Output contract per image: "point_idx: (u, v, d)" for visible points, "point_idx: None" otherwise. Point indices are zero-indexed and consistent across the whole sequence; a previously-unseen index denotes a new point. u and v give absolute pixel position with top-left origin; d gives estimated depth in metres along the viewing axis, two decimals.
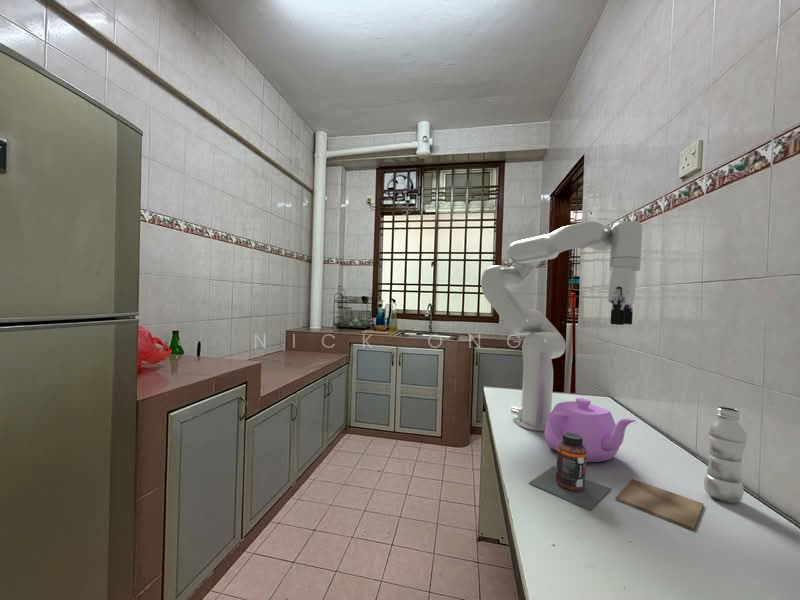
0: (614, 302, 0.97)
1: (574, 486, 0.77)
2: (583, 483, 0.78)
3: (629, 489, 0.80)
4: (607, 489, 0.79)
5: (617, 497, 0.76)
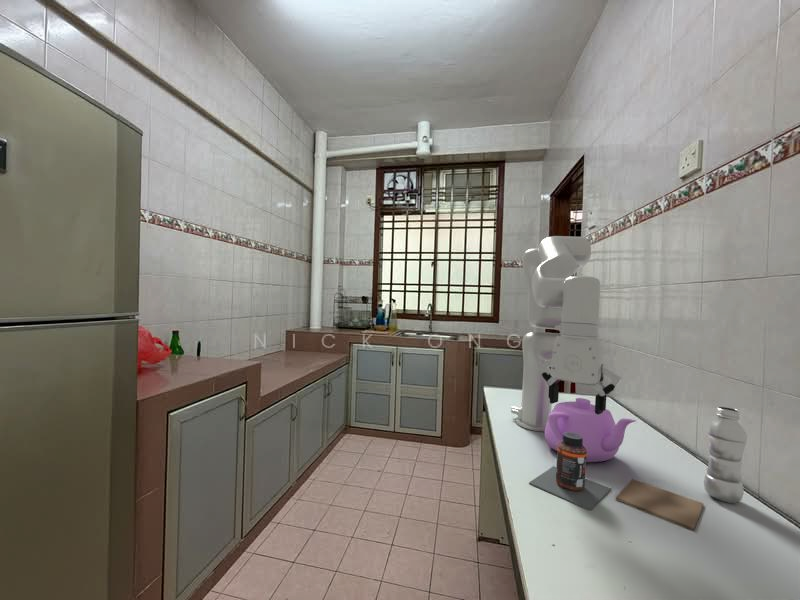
0: (614, 387, 0.74)
1: (574, 486, 0.77)
2: (583, 483, 0.78)
3: (629, 489, 0.80)
4: (607, 489, 0.79)
5: (617, 497, 0.76)
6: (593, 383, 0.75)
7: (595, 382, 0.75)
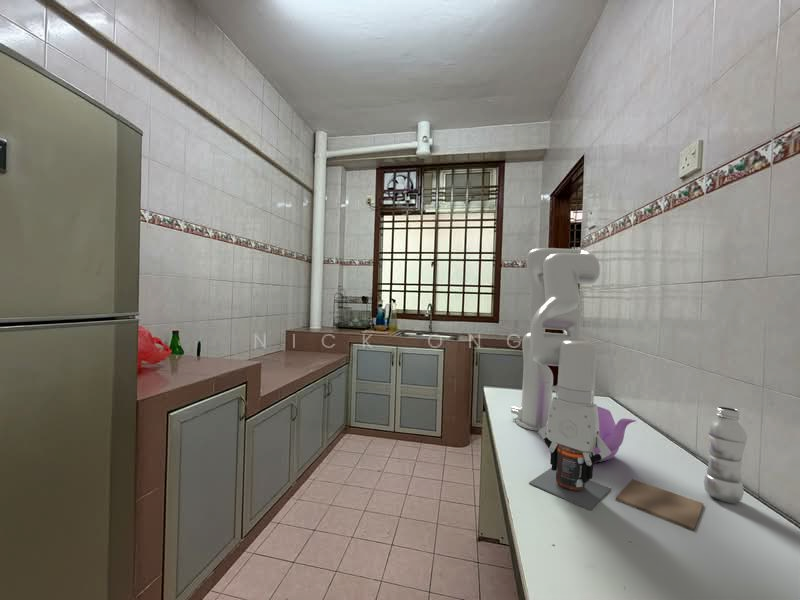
0: None
1: (574, 486, 0.77)
2: (583, 483, 0.78)
3: (629, 489, 0.80)
4: (607, 489, 0.79)
5: (617, 497, 0.76)
6: (588, 451, 0.75)
7: (590, 450, 0.75)
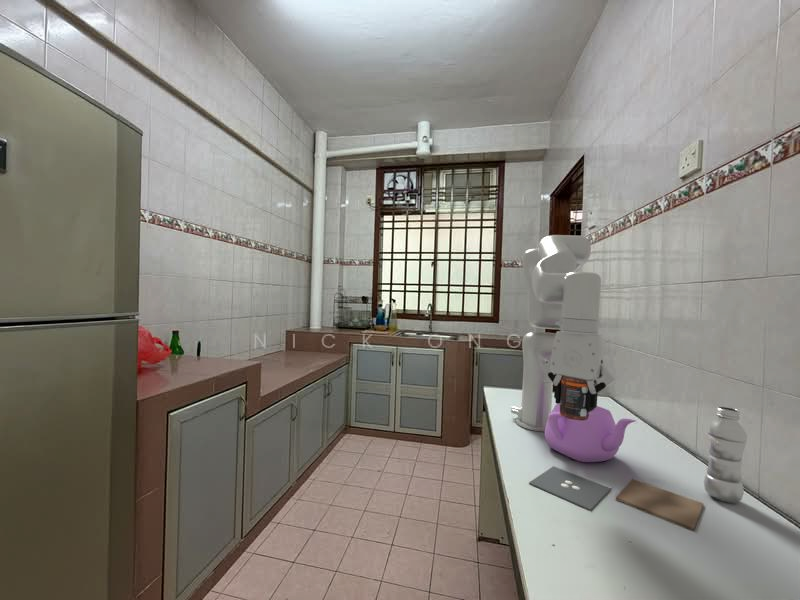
0: (605, 386, 0.76)
1: (578, 415, 0.78)
2: (587, 413, 0.78)
3: (629, 489, 0.80)
4: (607, 489, 0.79)
5: (617, 497, 0.76)
6: (592, 379, 0.75)
7: (594, 378, 0.75)
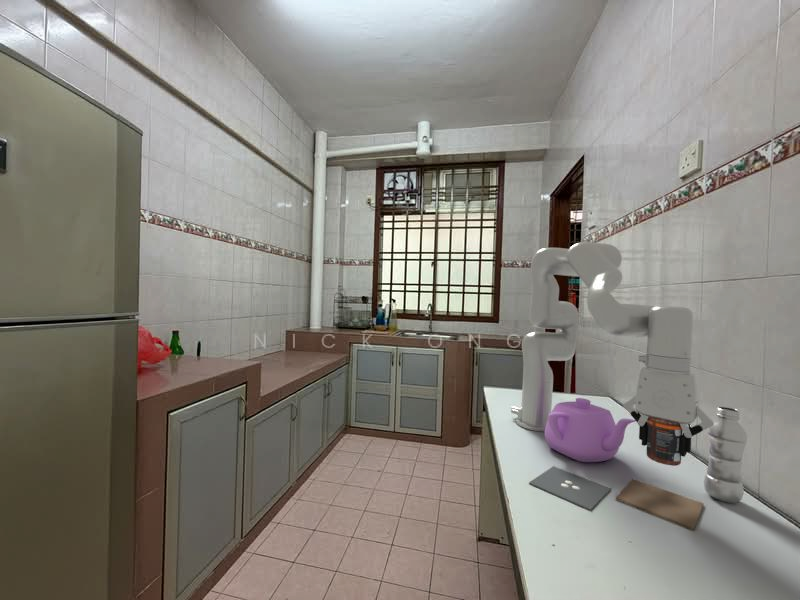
0: (702, 430, 0.71)
1: (671, 460, 0.72)
2: (680, 457, 0.73)
3: (629, 489, 0.80)
4: (607, 489, 0.79)
5: (617, 497, 0.76)
6: (689, 422, 0.71)
7: (691, 421, 0.70)
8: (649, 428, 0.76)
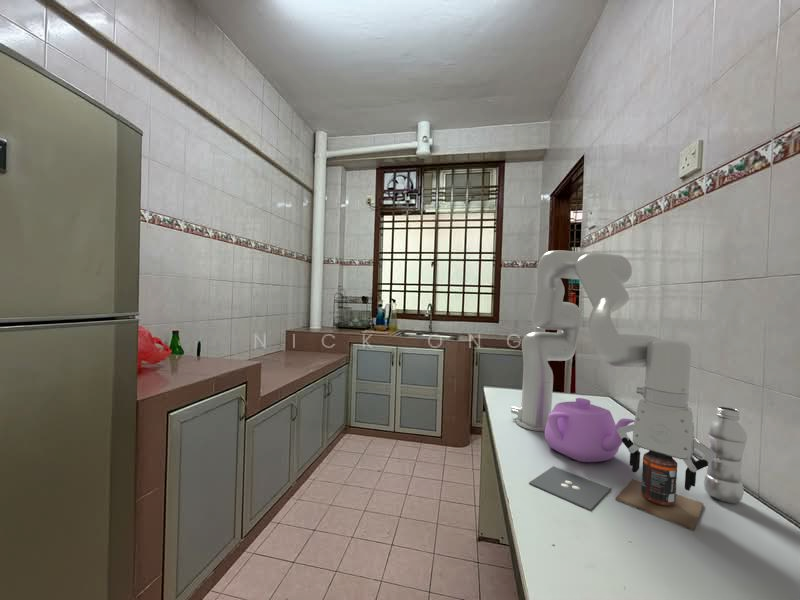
0: None
1: (666, 501, 0.73)
2: (674, 498, 0.74)
3: (629, 489, 0.80)
4: (607, 489, 0.79)
5: (617, 497, 0.76)
6: (686, 458, 0.71)
7: (688, 457, 0.71)
8: (644, 467, 0.76)
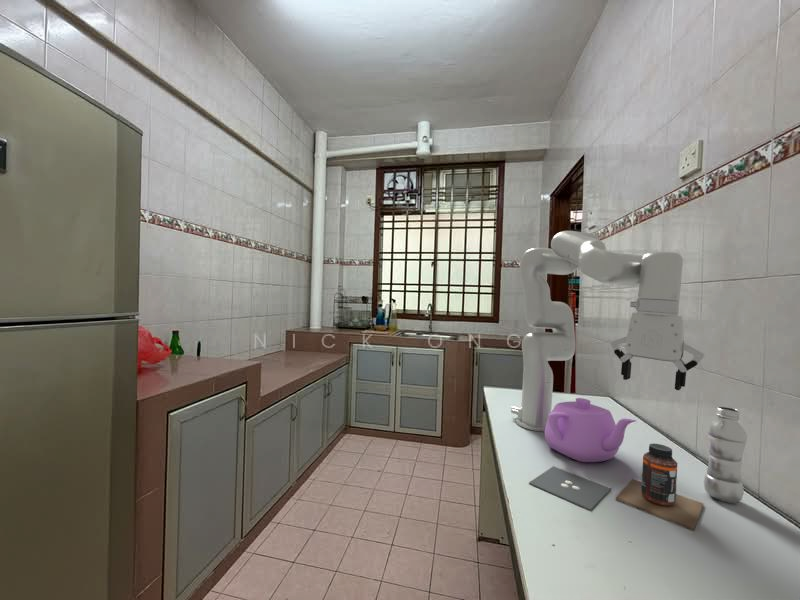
0: (697, 364, 0.74)
1: (666, 501, 0.73)
2: (674, 498, 0.74)
3: (629, 489, 0.80)
4: (607, 489, 0.79)
5: (617, 497, 0.76)
6: (675, 359, 0.75)
7: (677, 358, 0.75)
8: (644, 467, 0.76)
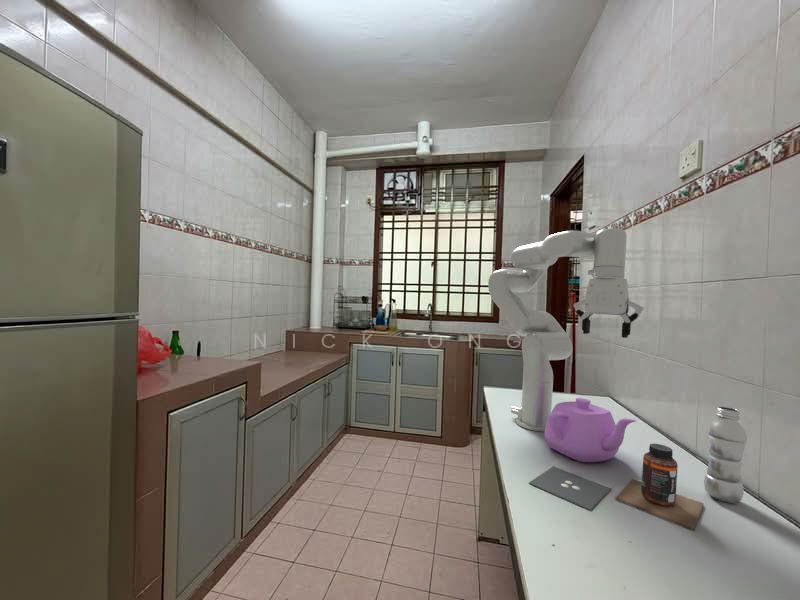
0: (638, 315, 0.93)
1: (666, 501, 0.73)
2: (674, 498, 0.74)
3: (629, 489, 0.80)
4: (607, 489, 0.79)
5: (617, 497, 0.76)
6: (620, 313, 0.94)
7: (622, 312, 0.94)
8: (644, 467, 0.76)
